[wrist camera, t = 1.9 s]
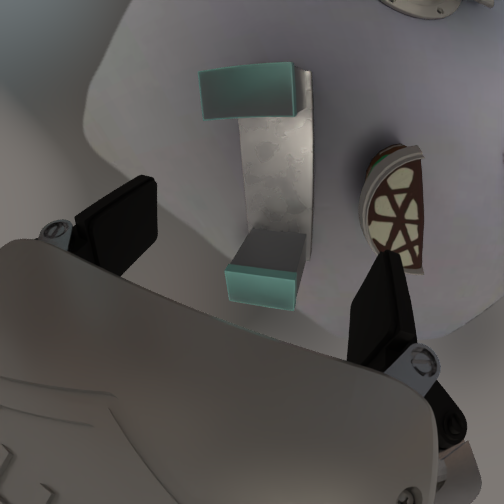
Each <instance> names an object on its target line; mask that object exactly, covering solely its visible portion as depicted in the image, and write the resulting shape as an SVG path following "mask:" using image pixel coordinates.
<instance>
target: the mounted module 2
mask: <svg viewBox="0 0 504 504" xmlns="http://www.w3.org/2000/svg"><path fill="white" fill-rule="evenodd" d="M306 243H307V234H303V233H293V232H282V231H272V230H261V229H251V231H250V232H249V234H248V236H247V237H246V239H245V241H244V242H243V244H242V245H241V247H240V249H239V250H238V252H237V254H236V255H235V257H234V259H233V260H232V262H231V263H230V264H228V266H227V267H226V269H225V277H226V282H227V289H228V294H229V300H230V301H235V302H241V303H246V304H252V305H259V306H265V307H271V308H277V309H284V310H291V311H294V308H295V304H296V297H297V293H298V289H299V285H300V281H301V277H302V273H303V269H304V265H305V261H306Z"/></svg>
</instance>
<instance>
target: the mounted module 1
mask: <svg viewBox="0 0 504 504" xmlns="http://www.w3.org/2000/svg"><path fill="white" fill-rule="evenodd" d="M198 78H199V88H200V97H201V106H202V115H203V121H207V120H218V119H232V118H251V117H295V116H297V113H298V112H300V111H302V110H304V109H305V108H307V96H306V75H305V71H304V70H302V69H300V68H298V67H296V66H294V63H292V62H277V63H261V64H249V65H240V66H231V67H224V68H217V69H211V70H205V71H199V72H198Z"/></svg>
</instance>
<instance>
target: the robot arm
mask: <svg viewBox="0 0 504 504" xmlns="http://www.w3.org/2000/svg"><path fill="white" fill-rule="evenodd" d="M380 1H381V2H383V3H384V4H386V5H387V6H389V7H391V8H393V9H394V10H396V11H399V12H401V13H403V14H406V15H409V16H412V17H415V18H421V19H427V20H429V19H431V20H436V19H441V18H445V17H447V16H449V15H451V14H452V13H454V12H455V11H456V10H457V9H458V7H459V6H460V3H461V0H392V1H393V3H392V2H390V1H389V0H380ZM474 1H476V2H478V3H480V4H482V5H484V6H487V7H489V8H493V6H494V0H474ZM437 11H439V13H438V12H437ZM75 222H76V225H75V226H74V227H73V225H72V223H71V222H70V221H68V220H64V219H62V220H56V221H53V222H50V223H49V224H47V225H46V226H45V227H44V228H43V229H42V230H41V232H40V235H39V237H38V238H36V239H18V240H13V241H11V242H9V243H7V244H5V245H4V246H3V247H1V248H0V504H470V503H472V502H473V500H475V499H476V497H477V495H478V494H479V492H480V489H481V485H482V481H481V476H480V473H479V470H478V466H477V463H476V460H475V458H474V455H473V452H472V449H471V447H470V444H469V441H466V442H465V441H464V438H465V435H466V432H467V422H466V419H465V416H464V415H463V413H462V411H461V410H460V409H459V407H458V406H457V405H456V403H455V402H454V401H453V400H452V398H451V397H450V396H449V394H448V393H447V392H446V391H445V389H444V388H443V387H442V386H441V384H440V383H439V382H438V381H437V378H438V376H439V373H440V367H441V366H440V362H439V359H438V357H437V355H436V354H435V352H434V351H433V350H432V349H431V348H429V347H428V346H426V345H424V344H420V343H417V336H416V329H415V322H414V316H413V310H412V305H411V299H410V295H409V291H408V286H407V282H406V277H405V273H404V268H403V264H402V260H401V256H400V254H398V253H395V252H393V251H390V250H385V251H384V252H382V251H381V252H380V253H379V254H378V256H377V258H376V260H375V262H374V264H373V265H372V267H371V269H370V271H369V273H368V275H367V277H366V278H365V280H364V282H363V284H362V285H361V287H360V289H359V291H358V292H357V294H356V296H355V298H354V299H353V301H352V304H351V309H350V327H349V340H348V352H347V361H345V360H342V359H339V358H336V357H332V356H329V355H325V354H322V353H319V352H315V351H312V350H309V349H306V348H303V347H299V346H297V345H293V344H291V343H287V342H284V341H281V340H278V339H275V338H272V337H269V336H266V335H264V334H260V333H257V332H255V331H252V330H249V329H246V328H244V327H241V326H238V325H236V324H233V323H230V322H227V321H225V320H222V319H219V318H217V317H214V316H212V315H209V314H207V313H204V312H201V311H199V310H196V309H194V308H191V307H188V306H186V305H184V304H182V303H179V302H177V301H174V300H172V299H170V298H167V297H164V296H162V295H160V294H158V293H155V292H153V291H151V290H148V289H146V288H144V287H142V286H140V285H137V284H135V283H133V282H131V281H128V280H126V279H124V278H122V277H120V276H121V275H122V274H123V273H124V272H125V271H126V270H127V269H128V268H129V267H130V266H131V265H132V264H133V263H134V262H135V261H136V260H137V259H138V258H139V257H140V256H141V255H142V254H143V253H144V252H145V251H146V250H147V249H148V248H149V247H150V246H151V245H152V244H153V243H154V242H155V241H156V239H157V236H158V229H157V183H156V182H155V180H154V178H153V177H149V176H145V175H139V176H137V177H136V178H134V179H132V180H131V181H129V182H127V183H126V184H124V185H122V186H121V187H119V188H117V189H116V190H114V191H112V192H111V193H110V194H108V195H106V196H105V197H103V198H102V199H100V200H98V201H97V202H96V203H94V204H92V205H91V206H89V207H88V208H86V209H85V210H84V211H82V212H81V213H79V214H78V215H76V216H75Z"/></svg>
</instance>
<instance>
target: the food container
mask: <svg viewBox="0 0 504 504" xmlns="http://www.w3.org/2000/svg"><path fill="white" fill-rule="evenodd" d="M423 158H425V157H424V156H423V155H422V151H421V150H420V148H419V147H418V145H415V146H409V147H407V146H405V145H403V144H396V145H391V146H389V147H387V148H385V149H383V150H381V151H380V152H379V153H378V154H377V155H376V156H375V157H374V158H373V159H372V160H371V163H370V165H369V167H368V169H367V171H366V178H365V184H364V186H363V188H362V191H361V195H360V199H359V220H360V225H361V228H362V231H363V234H364V236H365V238H366V240H367V241H368V243H369V245H370V247H371V249H372V250H373V251H374V253H375V254H376V255H377V256H378V254H379V253H380V252H381V251H382V252H384V251H385V250H390V251H393V252H395V253H398V254H400V256H401V260H402V264H403V268H404V273H407V274H413V275H424V271H423V267H422V248H423V231H424V204H423V184H422V169H421V159H423Z"/></svg>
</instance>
